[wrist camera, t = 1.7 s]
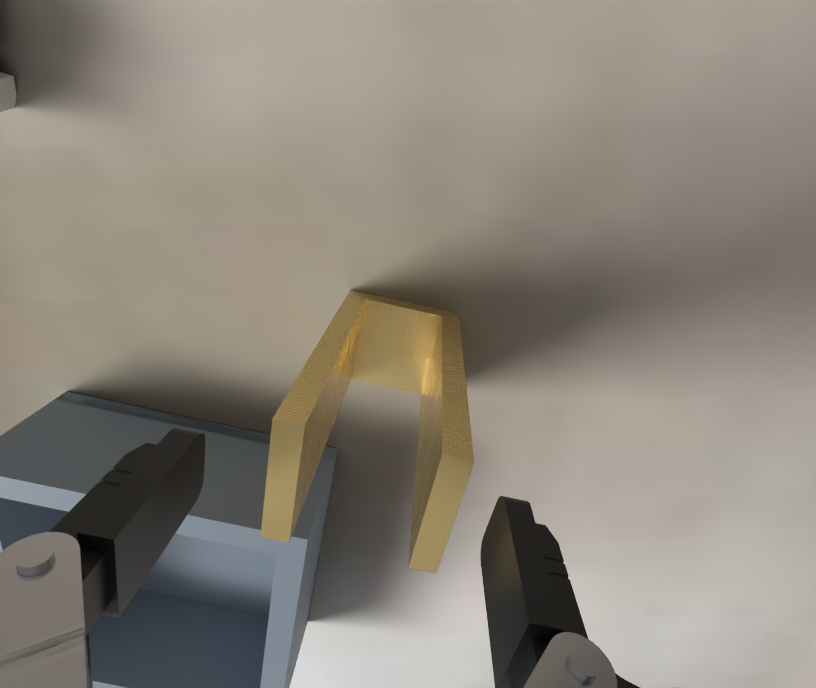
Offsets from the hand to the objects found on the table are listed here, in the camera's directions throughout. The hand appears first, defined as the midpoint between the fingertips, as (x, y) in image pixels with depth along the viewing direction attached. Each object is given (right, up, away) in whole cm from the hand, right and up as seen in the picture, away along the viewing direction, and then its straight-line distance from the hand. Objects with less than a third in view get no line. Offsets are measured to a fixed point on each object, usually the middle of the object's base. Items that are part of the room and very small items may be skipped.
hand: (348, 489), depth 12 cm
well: (-11, -6, +15) cm, 19 cm away
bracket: (+1, +4, +9) cm, 10 cm away
